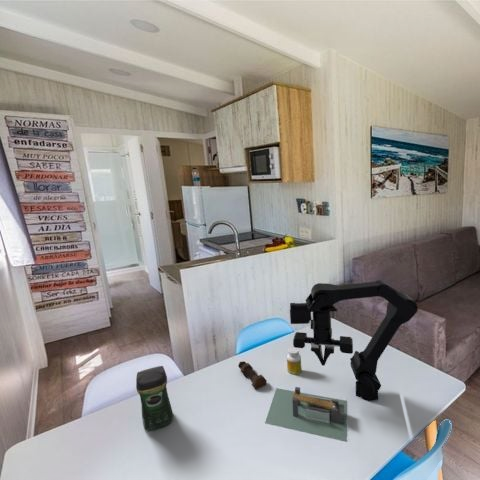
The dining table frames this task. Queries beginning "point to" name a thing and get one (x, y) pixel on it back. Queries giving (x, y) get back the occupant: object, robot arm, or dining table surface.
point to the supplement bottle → (293, 361)
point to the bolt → (252, 375)
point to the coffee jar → (154, 398)
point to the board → (303, 416)
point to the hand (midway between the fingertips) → (323, 364)
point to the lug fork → (296, 402)
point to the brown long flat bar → (315, 401)
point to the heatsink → (318, 412)
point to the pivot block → (337, 413)
